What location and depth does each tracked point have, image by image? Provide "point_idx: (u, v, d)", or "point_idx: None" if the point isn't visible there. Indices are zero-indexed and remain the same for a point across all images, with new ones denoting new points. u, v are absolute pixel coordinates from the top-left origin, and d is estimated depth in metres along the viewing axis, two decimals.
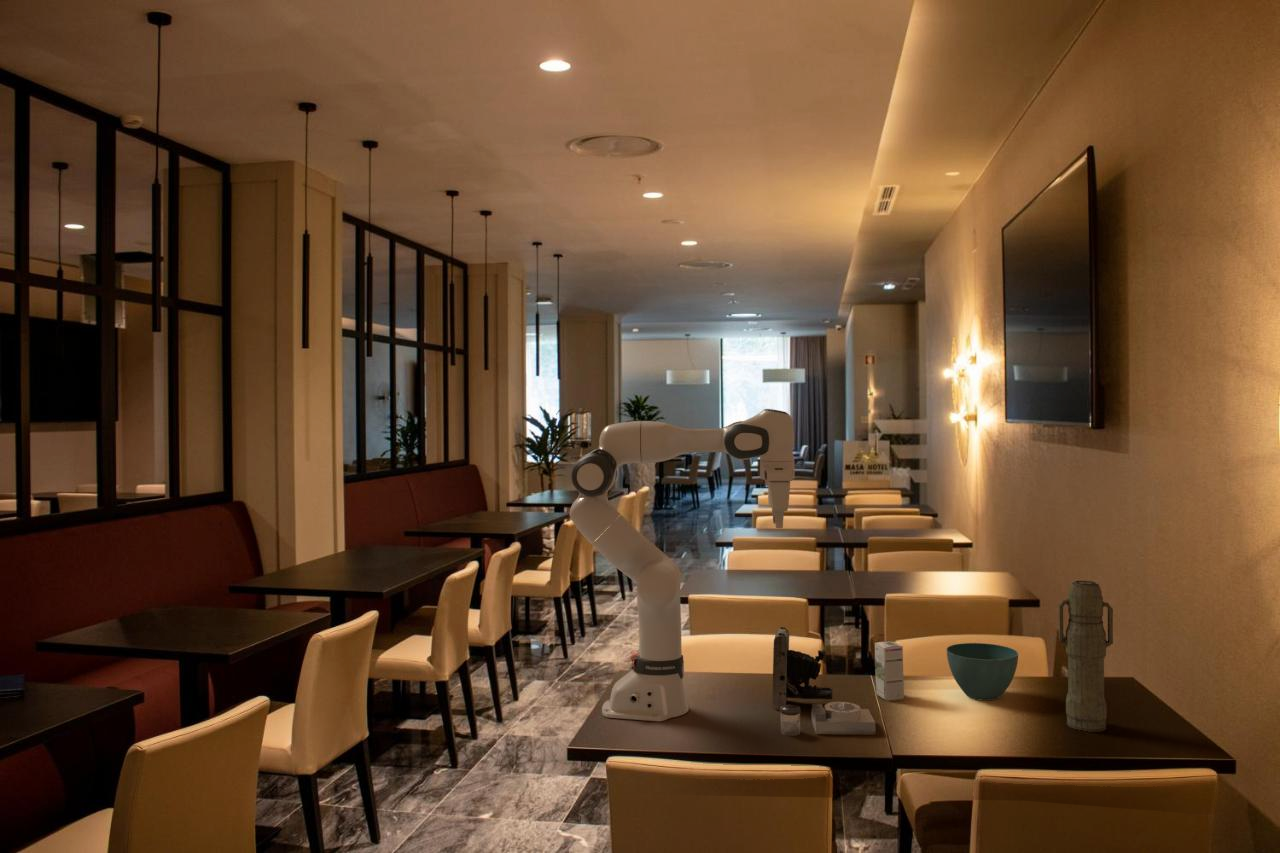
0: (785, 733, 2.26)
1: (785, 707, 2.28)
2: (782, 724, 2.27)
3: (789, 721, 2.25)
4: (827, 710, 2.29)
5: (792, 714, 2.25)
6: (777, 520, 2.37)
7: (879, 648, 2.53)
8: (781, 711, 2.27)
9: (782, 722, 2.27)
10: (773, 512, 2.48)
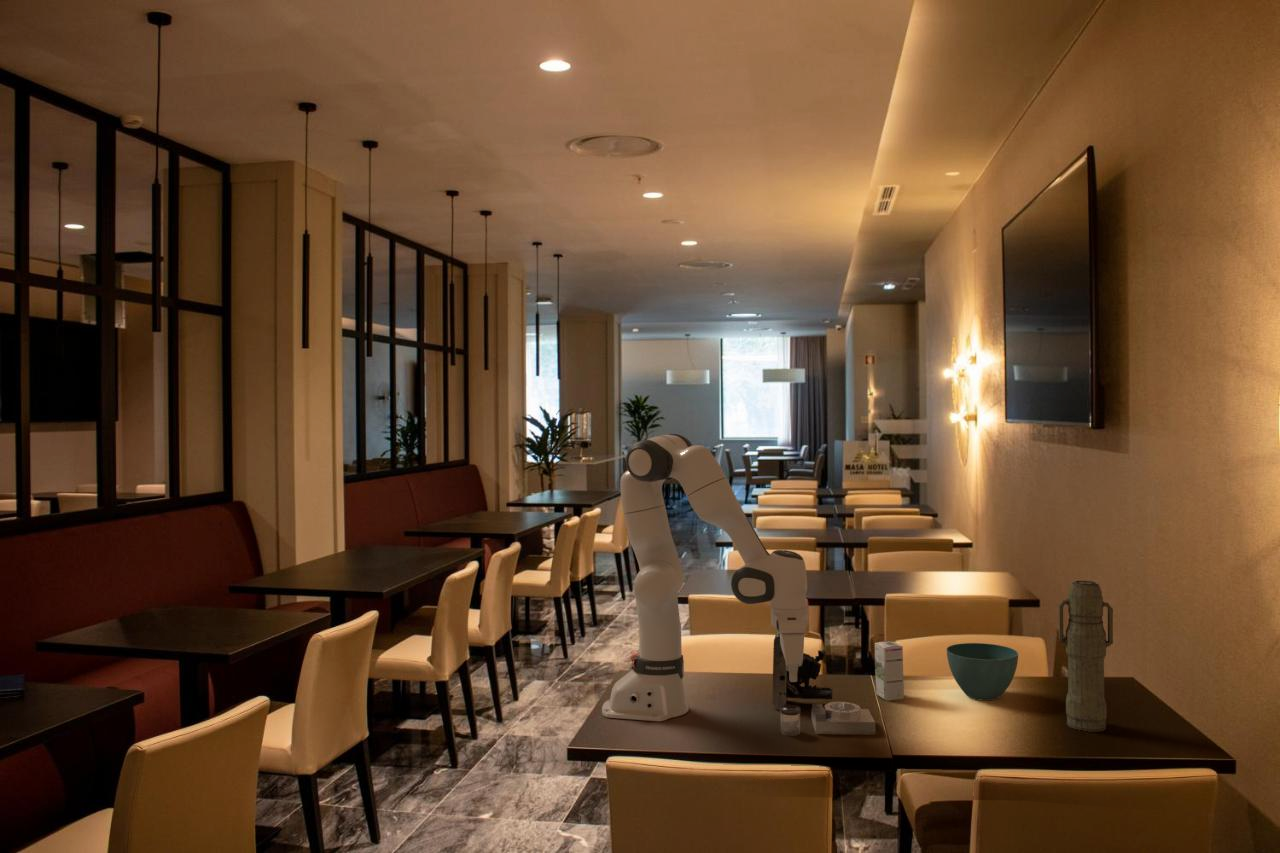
0: (785, 733, 2.26)
1: (785, 707, 2.28)
2: (782, 724, 2.27)
3: (789, 721, 2.25)
4: (827, 710, 2.29)
5: (792, 714, 2.25)
6: (791, 673, 2.22)
7: (879, 648, 2.53)
8: (781, 711, 2.27)
9: (782, 722, 2.27)
10: None
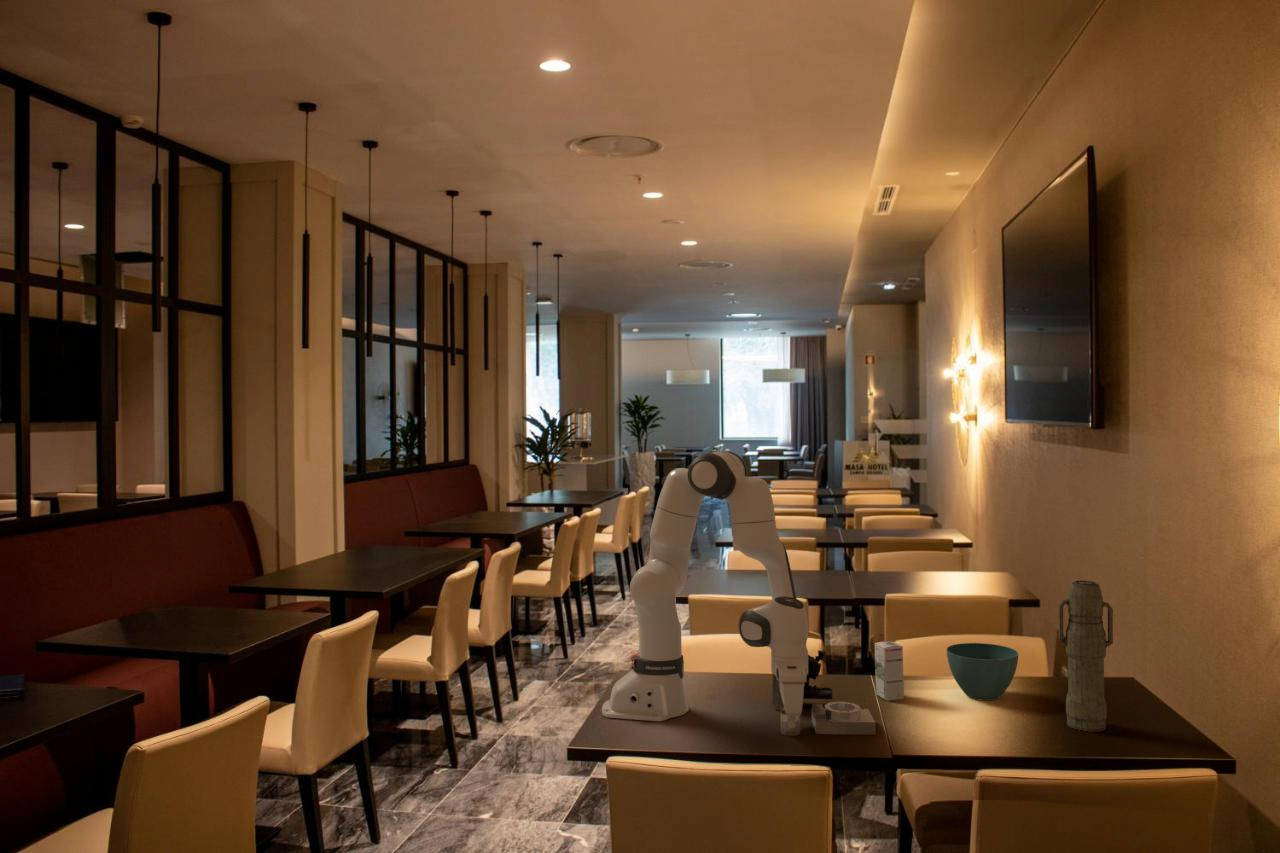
0: (785, 733, 2.26)
1: None
2: (782, 724, 2.27)
3: None
4: (827, 710, 2.29)
5: None
6: (789, 719, 2.24)
7: (879, 648, 2.53)
8: (781, 711, 2.27)
9: (782, 722, 2.27)
10: None
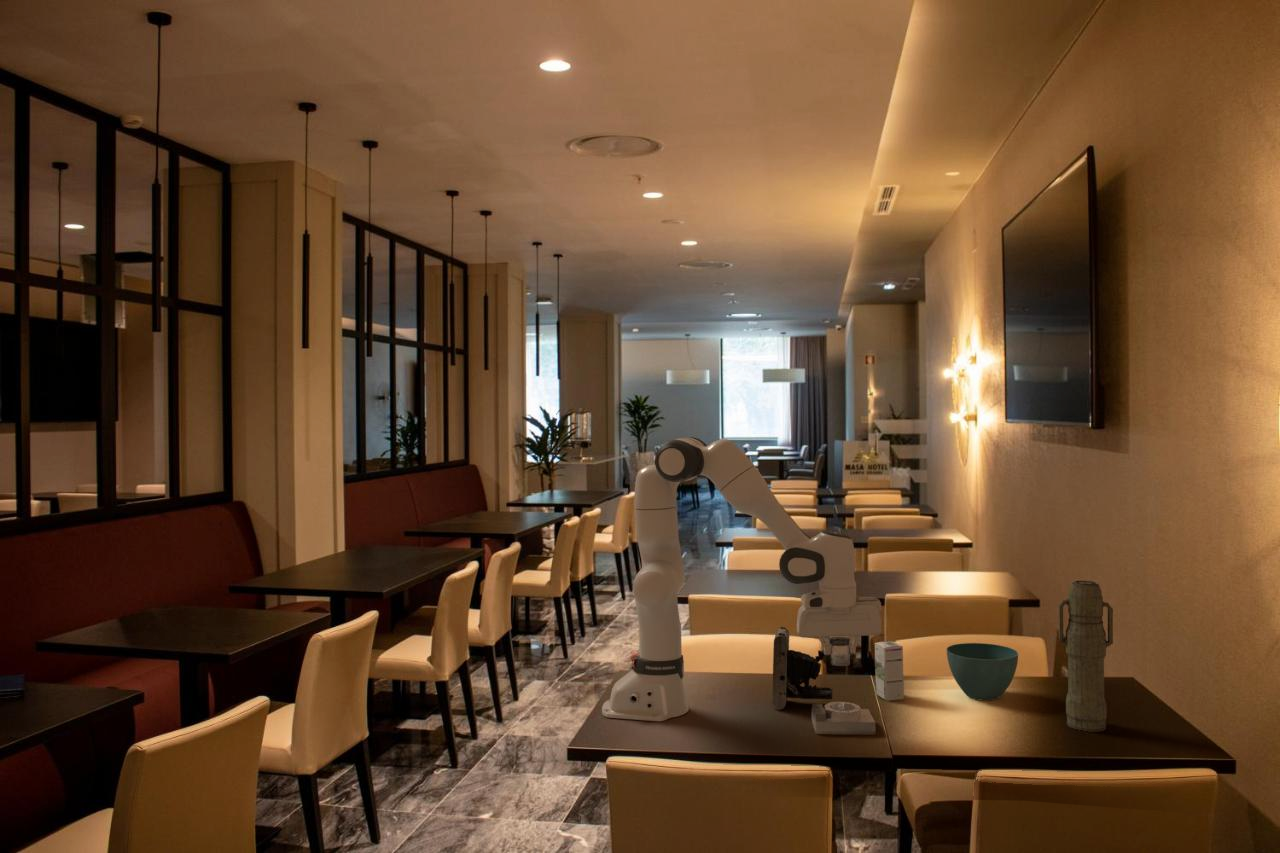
0: None
1: (838, 637, 2.31)
2: None
3: None
4: (827, 710, 2.29)
5: (829, 643, 2.30)
6: None
7: (879, 648, 2.53)
8: None
9: None
10: (854, 641, 2.31)
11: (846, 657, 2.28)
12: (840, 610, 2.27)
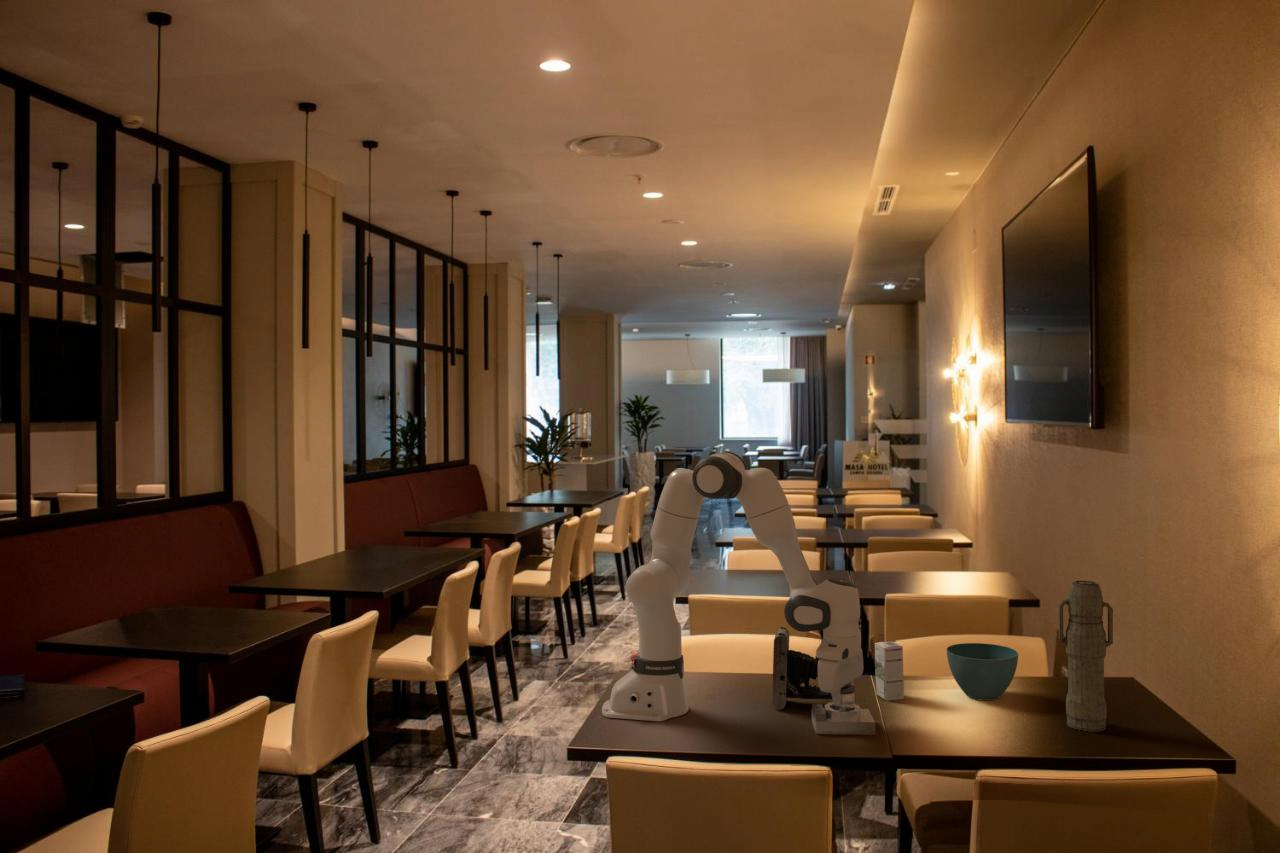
0: None
1: None
2: None
3: None
4: (827, 710, 2.29)
5: None
6: (834, 697, 2.28)
7: (879, 648, 2.53)
8: None
9: None
10: None
11: (854, 704, 2.30)
12: (853, 657, 2.29)
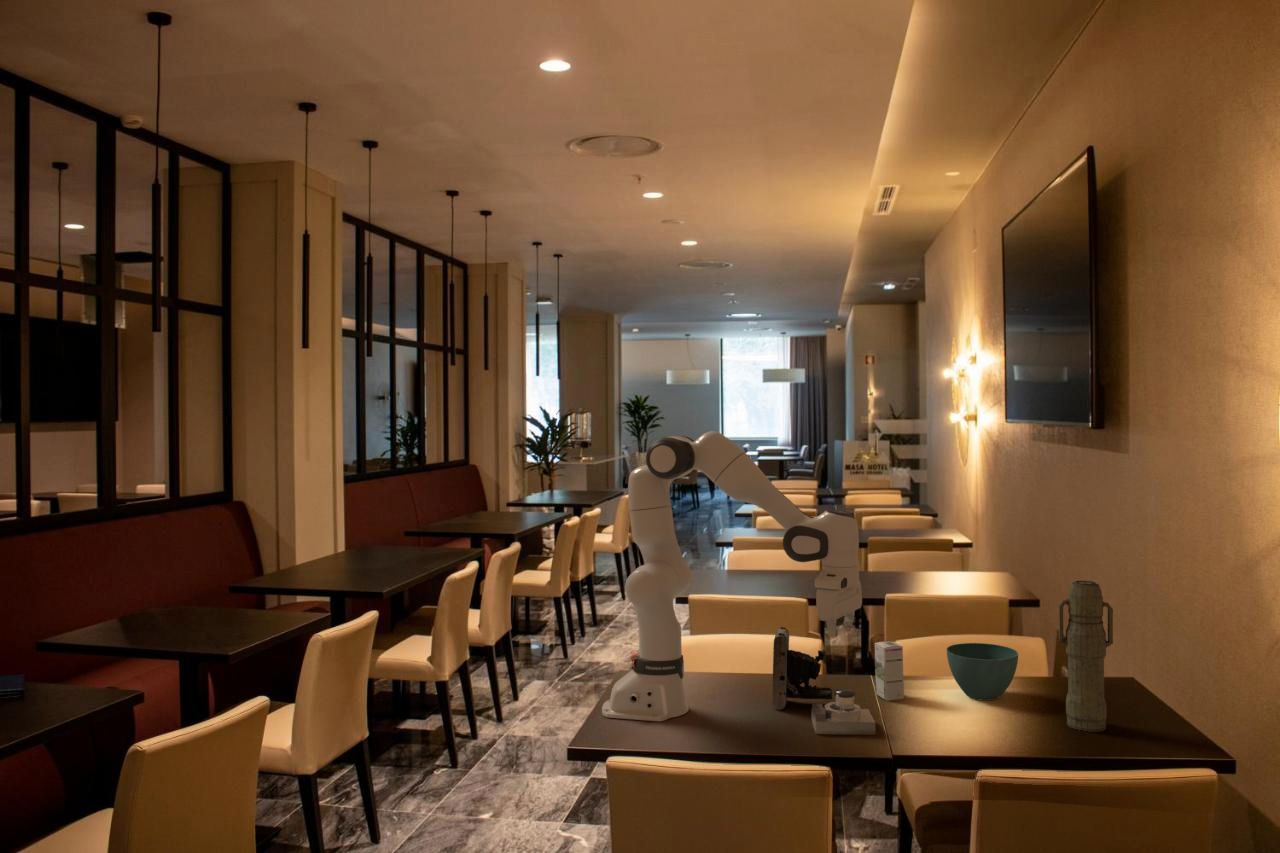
0: None
1: (841, 689, 2.31)
2: (835, 705, 2.31)
3: (838, 702, 2.29)
4: (827, 710, 2.29)
5: (840, 696, 2.29)
6: (829, 628, 2.26)
7: (879, 648, 2.53)
8: None
9: (835, 703, 2.31)
10: (846, 616, 2.35)
11: (854, 707, 2.30)
12: (852, 588, 2.29)
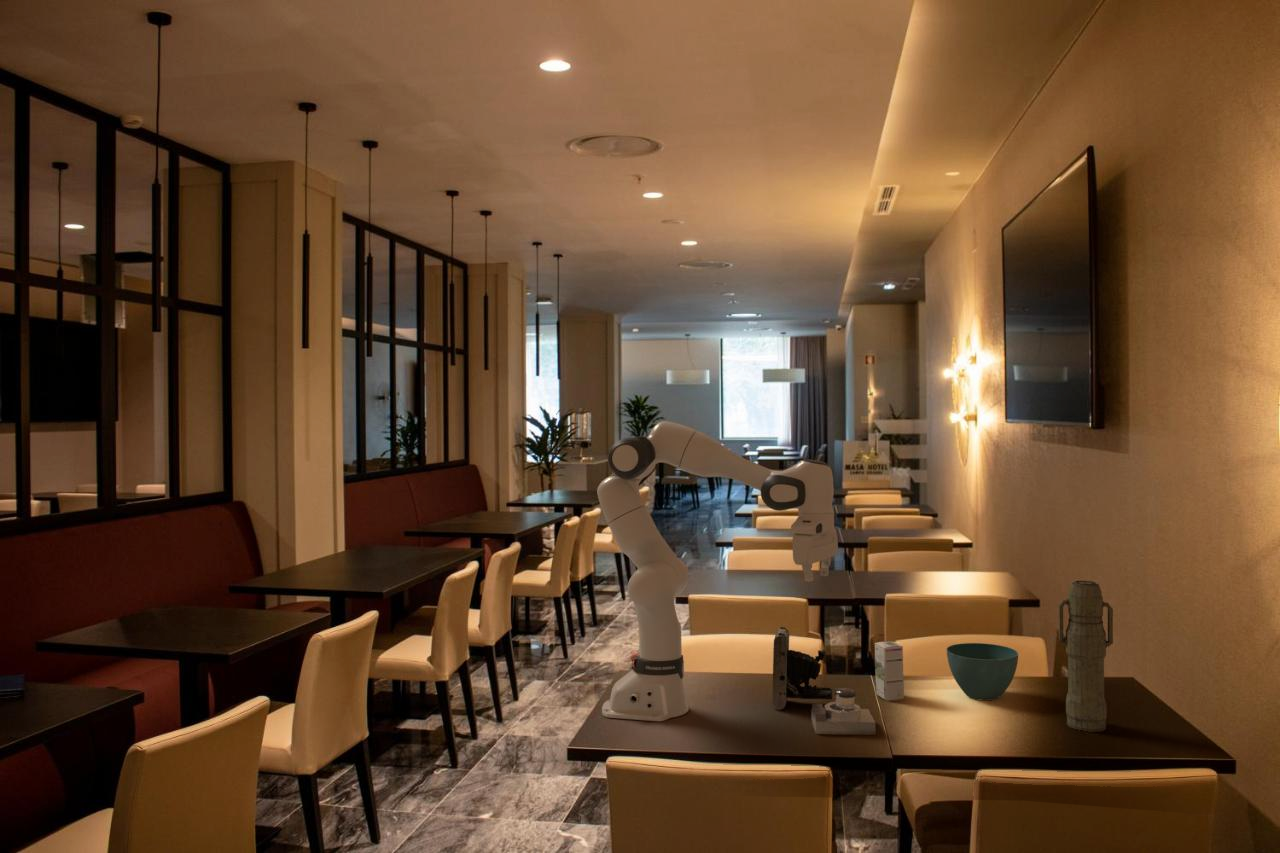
0: None
1: (841, 689, 2.31)
2: None
3: (839, 702, 2.29)
4: (827, 710, 2.29)
5: (841, 696, 2.28)
6: (805, 573, 2.34)
7: (879, 648, 2.53)
8: (835, 692, 2.31)
9: None
10: (822, 563, 2.43)
11: (854, 708, 2.30)
12: (827, 534, 2.37)
